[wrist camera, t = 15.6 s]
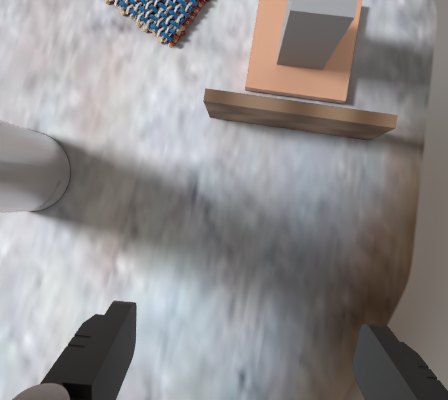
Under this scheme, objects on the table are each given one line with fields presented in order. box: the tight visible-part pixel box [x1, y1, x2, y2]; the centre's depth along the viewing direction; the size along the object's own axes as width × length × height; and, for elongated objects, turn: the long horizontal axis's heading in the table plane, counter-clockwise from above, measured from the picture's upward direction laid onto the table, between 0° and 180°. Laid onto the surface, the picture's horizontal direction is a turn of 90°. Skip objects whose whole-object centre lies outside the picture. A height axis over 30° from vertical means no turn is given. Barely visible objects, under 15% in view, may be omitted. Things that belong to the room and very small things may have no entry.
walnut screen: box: [204, 89, 398, 140], centre depth 33 cm, size 18×1×6 cm, turn 81°
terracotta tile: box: [245, 0, 362, 104], centre depth 35 cm, size 11×11×1 cm
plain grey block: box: [277, 0, 357, 70], centre depth 30 cm, size 5×5×10 cm
